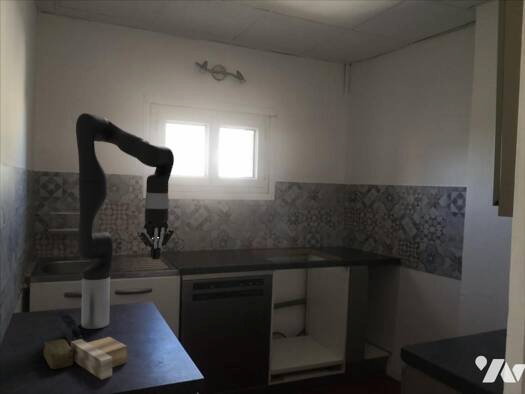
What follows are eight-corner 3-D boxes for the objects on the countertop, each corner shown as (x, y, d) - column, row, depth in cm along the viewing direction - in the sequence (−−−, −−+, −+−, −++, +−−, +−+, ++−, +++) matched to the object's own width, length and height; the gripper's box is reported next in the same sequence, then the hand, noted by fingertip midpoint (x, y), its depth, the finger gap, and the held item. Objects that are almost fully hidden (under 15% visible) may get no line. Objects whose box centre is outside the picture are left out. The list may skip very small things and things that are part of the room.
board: (70, 358, 118) (70, 341, 117) (80, 355, 120) (81, 339, 120) (101, 379, 106) (101, 360, 106) (112, 375, 108) (112, 357, 108)
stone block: (51, 372, 109) (51, 353, 109) (42, 357, 118) (42, 340, 118) (74, 366, 113) (74, 348, 113) (63, 353, 122) (64, 336, 122)
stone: (93, 344, 128) (93, 313, 128) (77, 351, 123) (77, 319, 122) (62, 337, 134) (62, 307, 133) (45, 343, 128) (45, 312, 128)
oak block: (86, 360, 118) (86, 343, 118) (108, 353, 123) (109, 336, 123) (103, 371, 111) (103, 353, 111) (126, 363, 116) (126, 345, 116)
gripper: (167, 205, 141) (165, 255, 141) (132, 206, 131) (131, 259, 132) (180, 207, 136) (178, 258, 136) (145, 208, 126) (143, 263, 127)
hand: (155, 259), depth 134 cm, fingers closed
